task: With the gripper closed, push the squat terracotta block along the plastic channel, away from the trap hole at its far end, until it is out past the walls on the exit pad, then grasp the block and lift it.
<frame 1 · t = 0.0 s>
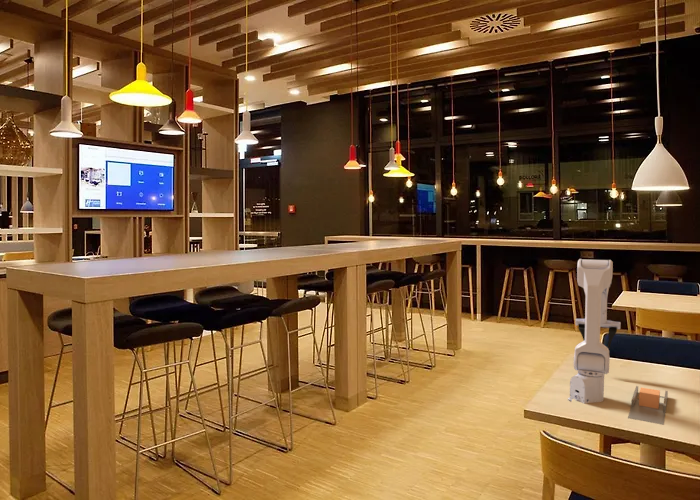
hand: (597, 345, 188), 10 cm above the table, tool pointing down, fingers open, 7 cm apart
channel: (648, 409, 153), on the table
block: (649, 404, 155), point 1 cm above the table, touching channel
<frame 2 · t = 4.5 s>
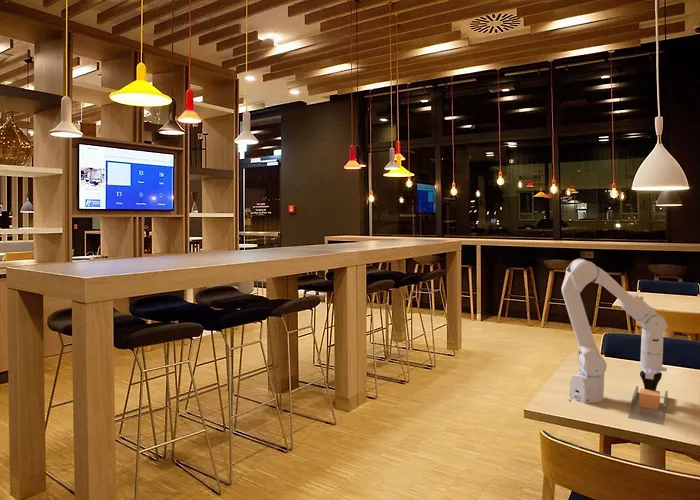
hand: (650, 396, 157), 3 cm above the table, tool pointing down, fingers closed
block: (649, 405, 154), point 1 cm above the table, touching gripper
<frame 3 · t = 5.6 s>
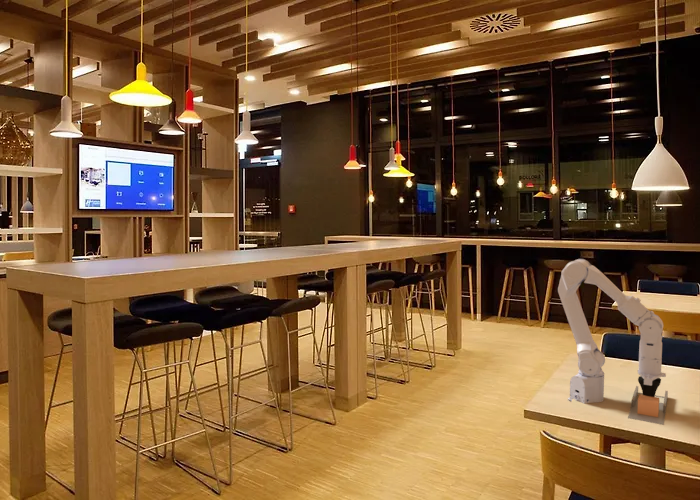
hand: (648, 402, 152), 3 cm above the table, tool pointing down, fingers closed
block: (648, 412, 149), point 1 cm above the table, touching channel, gripper
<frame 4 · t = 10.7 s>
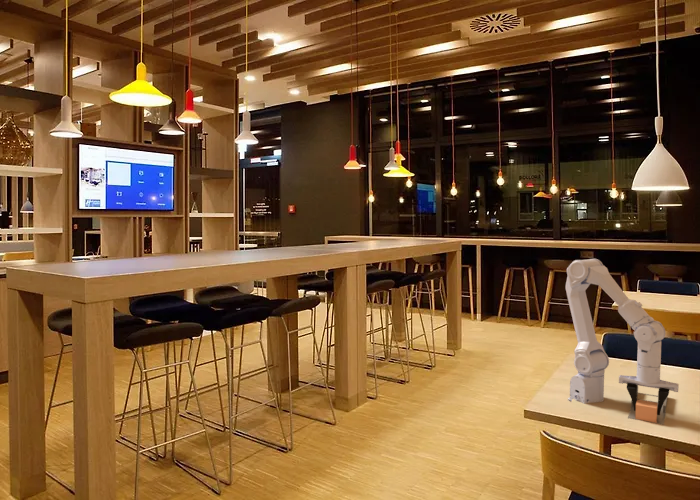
hand: (647, 411, 147), 2 cm above the table, tool pointing down, fingers closed on block, 5 cm apart
block: (646, 417, 145), point 1 cm above the table, touching channel, gripper
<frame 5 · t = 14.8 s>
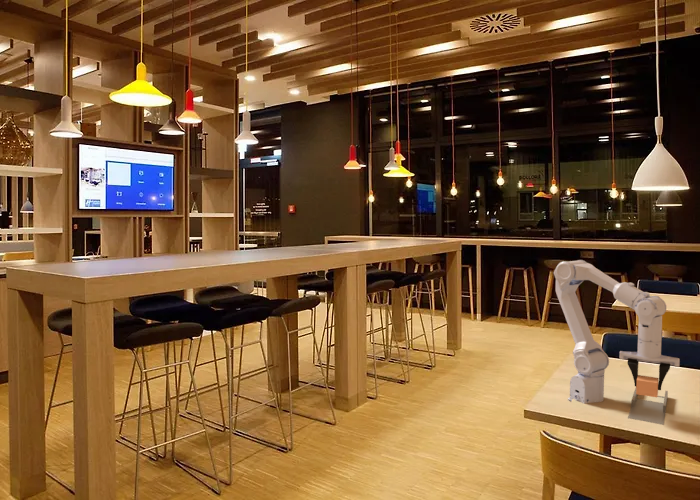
hand: (647, 387, 147), 9 cm above the table, tool pointing down, fingers closed on block, 5 cm apart
block: (647, 393, 144), point 8 cm above the table, touching gripper
at the end: the gripper is holding block; block point 8.0 cm above the table; block inside the target area on the channel (2.5 cm from its centre), point 8.0 cm above the channel's base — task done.
